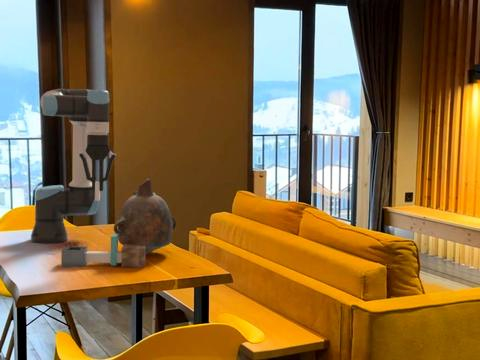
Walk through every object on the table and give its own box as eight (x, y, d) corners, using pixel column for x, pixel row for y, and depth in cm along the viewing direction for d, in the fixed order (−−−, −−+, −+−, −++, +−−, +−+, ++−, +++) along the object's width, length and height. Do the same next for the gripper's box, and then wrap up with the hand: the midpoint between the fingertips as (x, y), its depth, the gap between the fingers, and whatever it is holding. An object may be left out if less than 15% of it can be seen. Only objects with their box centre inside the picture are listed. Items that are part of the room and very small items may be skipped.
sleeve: (61, 267, 225) (61, 250, 225) (64, 262, 232) (64, 246, 232) (84, 267, 226) (84, 250, 226) (87, 262, 233) (87, 246, 233)
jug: (140, 246, 266) (141, 174, 263) (184, 252, 257) (185, 177, 254) (103, 256, 244) (103, 178, 241) (149, 263, 235) (151, 182, 232)
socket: (121, 267, 227) (121, 248, 226) (123, 262, 235) (123, 244, 234) (144, 267, 228) (144, 248, 227) (145, 262, 236) (145, 244, 235)
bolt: (84, 265, 227) (85, 236, 226) (87, 262, 232) (87, 233, 231) (130, 265, 229) (130, 236, 228) (131, 262, 234) (131, 234, 233)
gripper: (77, 133, 221) (77, 201, 224) (115, 134, 223) (115, 201, 225) (80, 133, 229) (80, 198, 231) (117, 134, 230) (117, 199, 232)
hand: (97, 200), depth 228 cm, fingers closed
